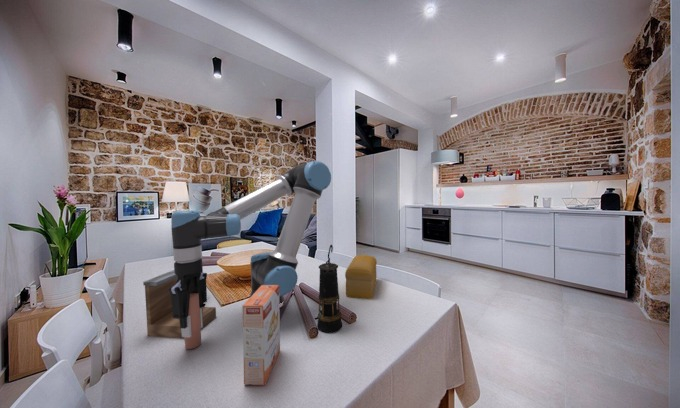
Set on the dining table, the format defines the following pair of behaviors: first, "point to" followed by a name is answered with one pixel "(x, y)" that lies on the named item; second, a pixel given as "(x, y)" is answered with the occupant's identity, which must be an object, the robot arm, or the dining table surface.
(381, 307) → the dining table surface
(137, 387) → the dining table surface
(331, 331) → the lantern
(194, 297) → the peg
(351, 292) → the bread
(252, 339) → the cracker box
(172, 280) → the station
